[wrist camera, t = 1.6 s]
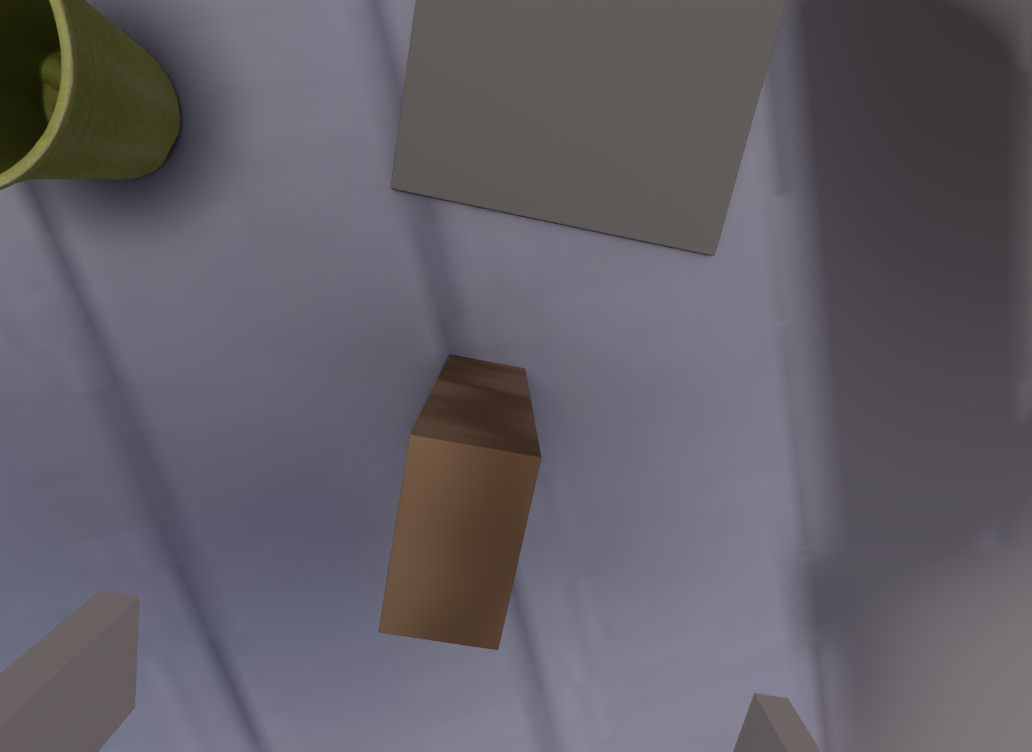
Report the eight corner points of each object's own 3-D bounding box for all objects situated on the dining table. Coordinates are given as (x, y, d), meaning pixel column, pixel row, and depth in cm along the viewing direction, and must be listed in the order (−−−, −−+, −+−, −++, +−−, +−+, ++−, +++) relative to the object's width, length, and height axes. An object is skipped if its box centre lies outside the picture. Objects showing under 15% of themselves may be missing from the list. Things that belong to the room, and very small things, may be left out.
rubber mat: (393, 189, 25) (390, 188, 25) (439, -155, 22) (438, -166, 21) (709, 255, 26) (714, 255, 26) (797, -63, 23) (805, -72, 23)
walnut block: (428, 476, 29) (378, 632, 17) (449, 354, 27) (409, 434, 16) (499, 488, 29) (498, 650, 17) (524, 368, 27) (541, 457, 16)
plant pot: (-30, 20, 23) (-336, -111, 15) (174, -32, 23) (-19, -197, 14) (61, 234, 25) (-159, 227, 17) (248, 189, 25) (119, 158, 17)
